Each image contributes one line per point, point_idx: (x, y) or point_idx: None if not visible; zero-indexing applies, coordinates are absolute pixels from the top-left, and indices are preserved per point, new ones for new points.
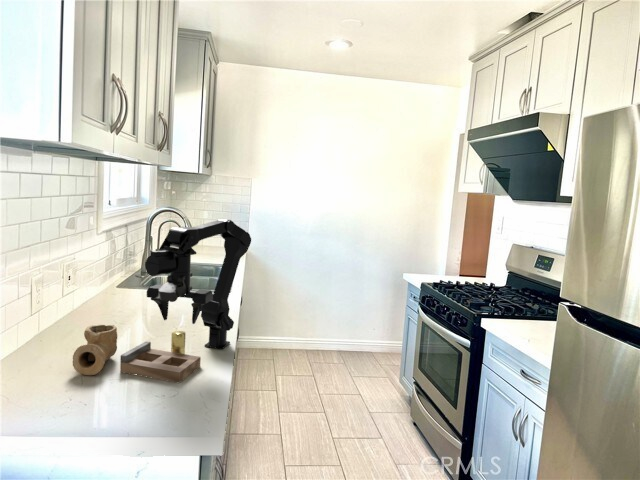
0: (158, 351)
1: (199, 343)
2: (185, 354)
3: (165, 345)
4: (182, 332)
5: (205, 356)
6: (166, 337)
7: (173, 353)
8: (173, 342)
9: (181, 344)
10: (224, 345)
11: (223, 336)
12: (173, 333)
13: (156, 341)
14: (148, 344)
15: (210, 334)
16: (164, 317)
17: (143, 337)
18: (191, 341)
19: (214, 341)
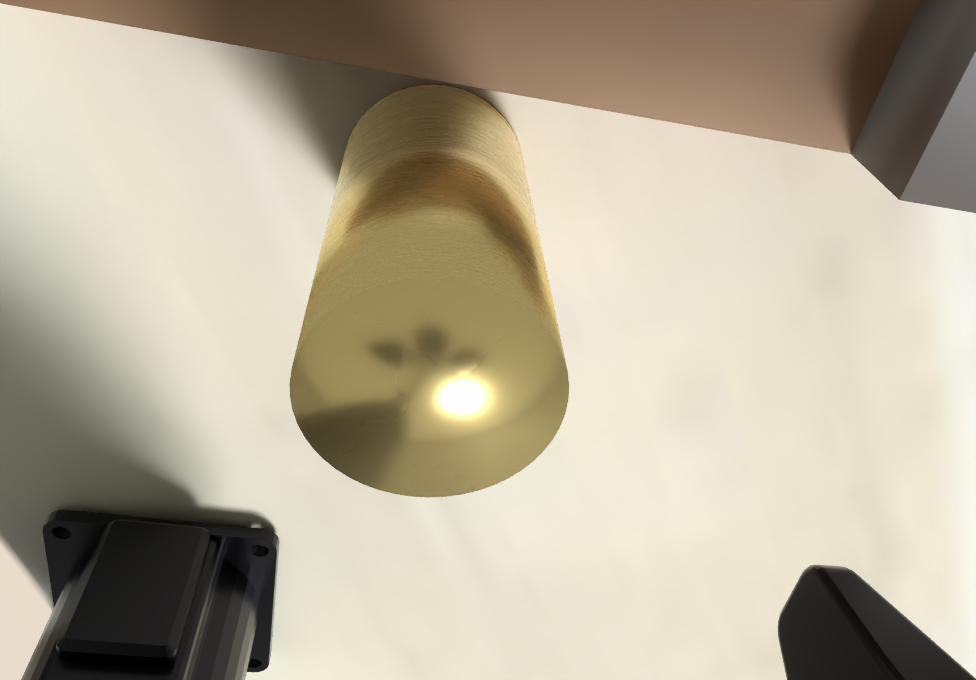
0: (701, 62)
1: (368, 585)
2: (211, 33)
3: (696, 478)
4: (369, 439)
5: (126, 307)
6: (733, 630)
7: (427, 31)
8: (482, 208)
9: (342, 222)
10: (65, 578)
11: (30, 664)
12: (522, 354)
13: (811, 540)
14: (922, 128)
15: (155, 650)
16: (868, 624)
17: (953, 588)
18: (466, 606)
19: (117, 573)
